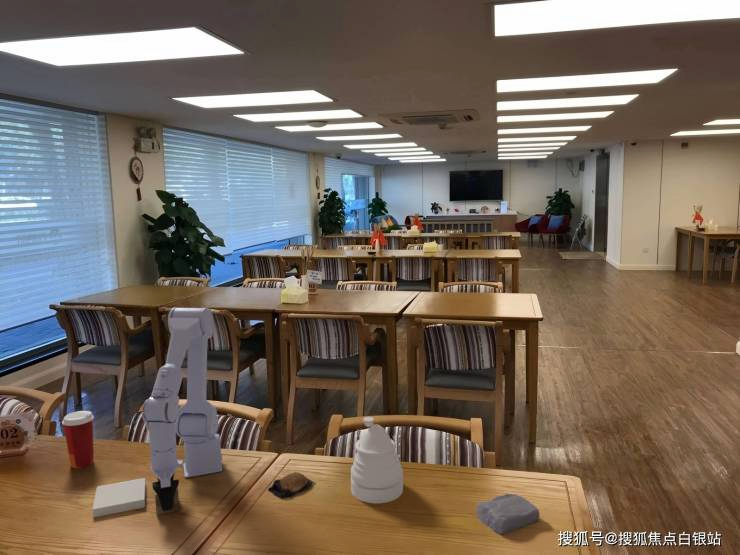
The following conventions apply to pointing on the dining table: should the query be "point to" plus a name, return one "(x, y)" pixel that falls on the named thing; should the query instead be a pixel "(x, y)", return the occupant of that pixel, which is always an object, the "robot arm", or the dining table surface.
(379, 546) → the dining table surface
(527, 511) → the stone block
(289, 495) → the brown rounded lump
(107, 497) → the stoneware tile
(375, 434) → the honey pot
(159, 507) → the walnut block
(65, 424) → the paper cup
